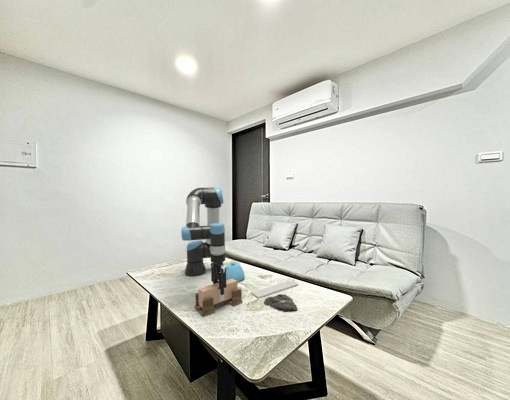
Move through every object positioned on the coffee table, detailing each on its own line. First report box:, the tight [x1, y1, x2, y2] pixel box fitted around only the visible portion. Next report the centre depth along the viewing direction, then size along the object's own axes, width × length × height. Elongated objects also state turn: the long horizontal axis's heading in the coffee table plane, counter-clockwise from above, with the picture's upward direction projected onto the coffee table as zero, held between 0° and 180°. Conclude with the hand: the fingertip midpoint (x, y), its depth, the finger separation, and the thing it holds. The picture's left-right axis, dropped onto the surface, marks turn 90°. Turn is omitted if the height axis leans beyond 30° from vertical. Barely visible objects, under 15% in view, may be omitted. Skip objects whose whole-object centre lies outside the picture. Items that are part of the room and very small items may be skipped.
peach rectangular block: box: [197, 278, 239, 308], centre depth 112 cm, size 5×20×8 cm, turn 129°
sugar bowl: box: [224, 261, 245, 283], centre depth 148 cm, size 15×15×12 cm
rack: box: [194, 288, 244, 318], centre depth 112 cm, size 10×22×7 cm, turn 126°
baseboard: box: [249, 279, 299, 300], centre depth 131 cm, size 30×3×10 cm
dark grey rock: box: [263, 293, 298, 313], centre depth 113 cm, size 19×4×15 cm
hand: (219, 298), depth 112 cm, fingers closed on peach rectangular block, 5 cm apart
